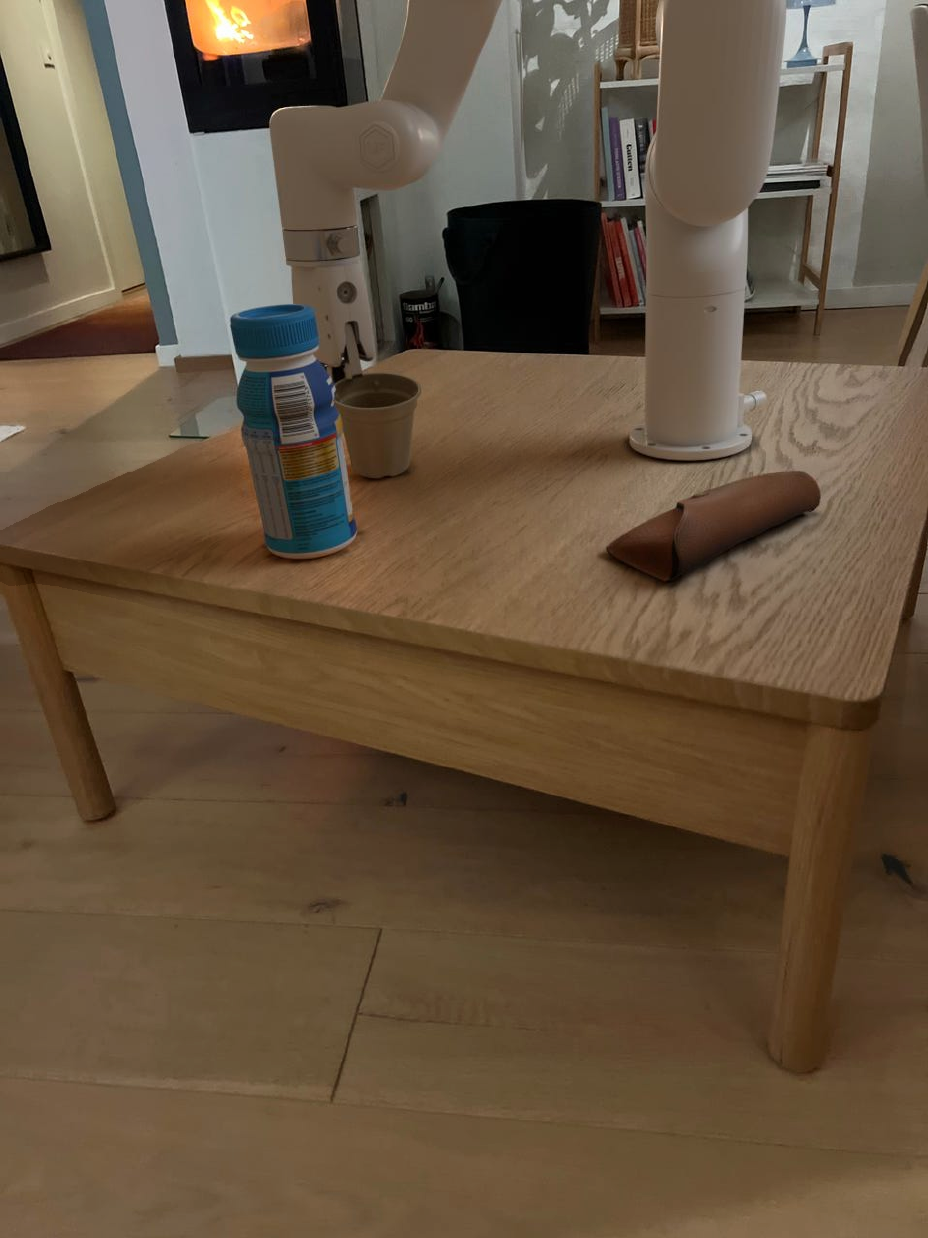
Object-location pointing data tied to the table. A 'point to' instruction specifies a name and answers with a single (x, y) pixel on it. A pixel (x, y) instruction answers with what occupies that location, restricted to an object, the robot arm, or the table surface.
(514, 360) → the table surface
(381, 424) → the flower pot
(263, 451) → the beverage bottle
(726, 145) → the robot arm
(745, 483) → the sunglasses case
